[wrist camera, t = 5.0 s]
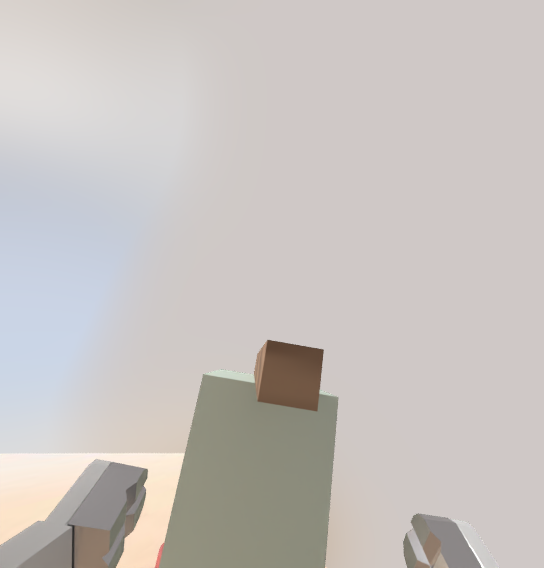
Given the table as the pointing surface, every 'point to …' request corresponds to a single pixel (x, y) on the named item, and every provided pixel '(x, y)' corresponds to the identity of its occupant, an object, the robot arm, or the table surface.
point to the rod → (288, 375)
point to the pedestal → (252, 481)
